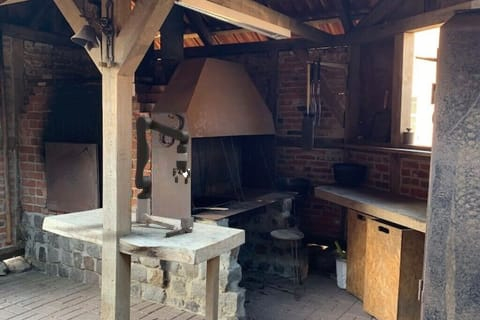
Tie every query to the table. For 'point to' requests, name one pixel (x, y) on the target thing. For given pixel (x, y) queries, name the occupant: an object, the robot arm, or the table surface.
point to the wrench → (157, 222)
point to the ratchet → (179, 232)
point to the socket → (187, 222)
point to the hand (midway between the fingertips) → (181, 183)
